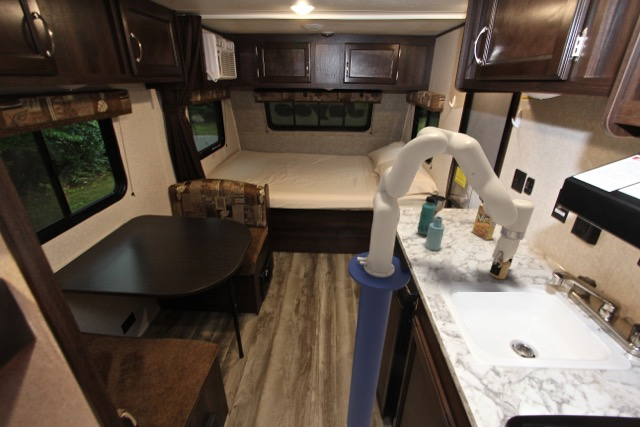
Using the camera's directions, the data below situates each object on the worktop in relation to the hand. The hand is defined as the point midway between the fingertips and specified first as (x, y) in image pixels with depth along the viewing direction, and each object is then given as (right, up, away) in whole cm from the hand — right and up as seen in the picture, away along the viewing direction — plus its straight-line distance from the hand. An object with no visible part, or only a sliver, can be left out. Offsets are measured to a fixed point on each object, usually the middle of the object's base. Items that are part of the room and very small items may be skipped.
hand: (499, 269), depth 116 cm
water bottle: (-19, +7, +19) cm, 28 cm away
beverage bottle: (-20, +12, +31) cm, 38 cm away
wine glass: (-11, +17, +41) cm, 46 cm away
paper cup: (0, -2, +1) cm, 2 cm away
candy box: (+10, +11, +31) cm, 34 cm away
